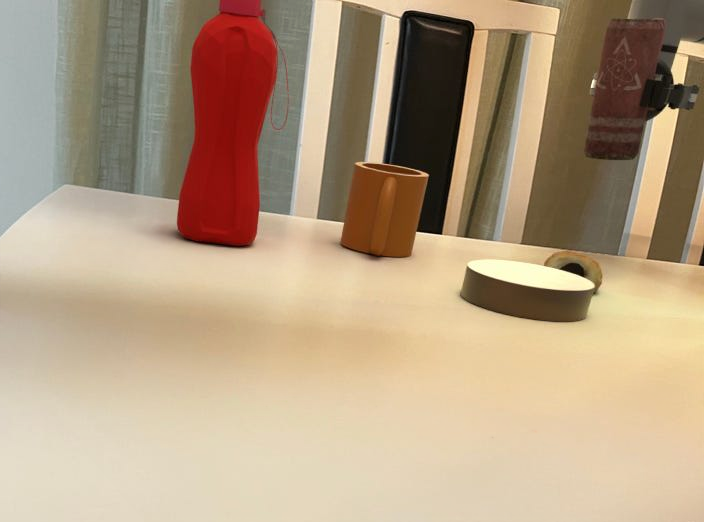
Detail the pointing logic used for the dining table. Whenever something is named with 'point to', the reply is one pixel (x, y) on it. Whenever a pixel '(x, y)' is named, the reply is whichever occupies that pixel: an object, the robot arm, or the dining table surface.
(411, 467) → the dining table surface
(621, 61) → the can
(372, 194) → the mug
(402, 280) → the dining table surface
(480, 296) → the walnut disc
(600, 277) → the pastry
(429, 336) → the dining table surface
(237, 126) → the water bottle
